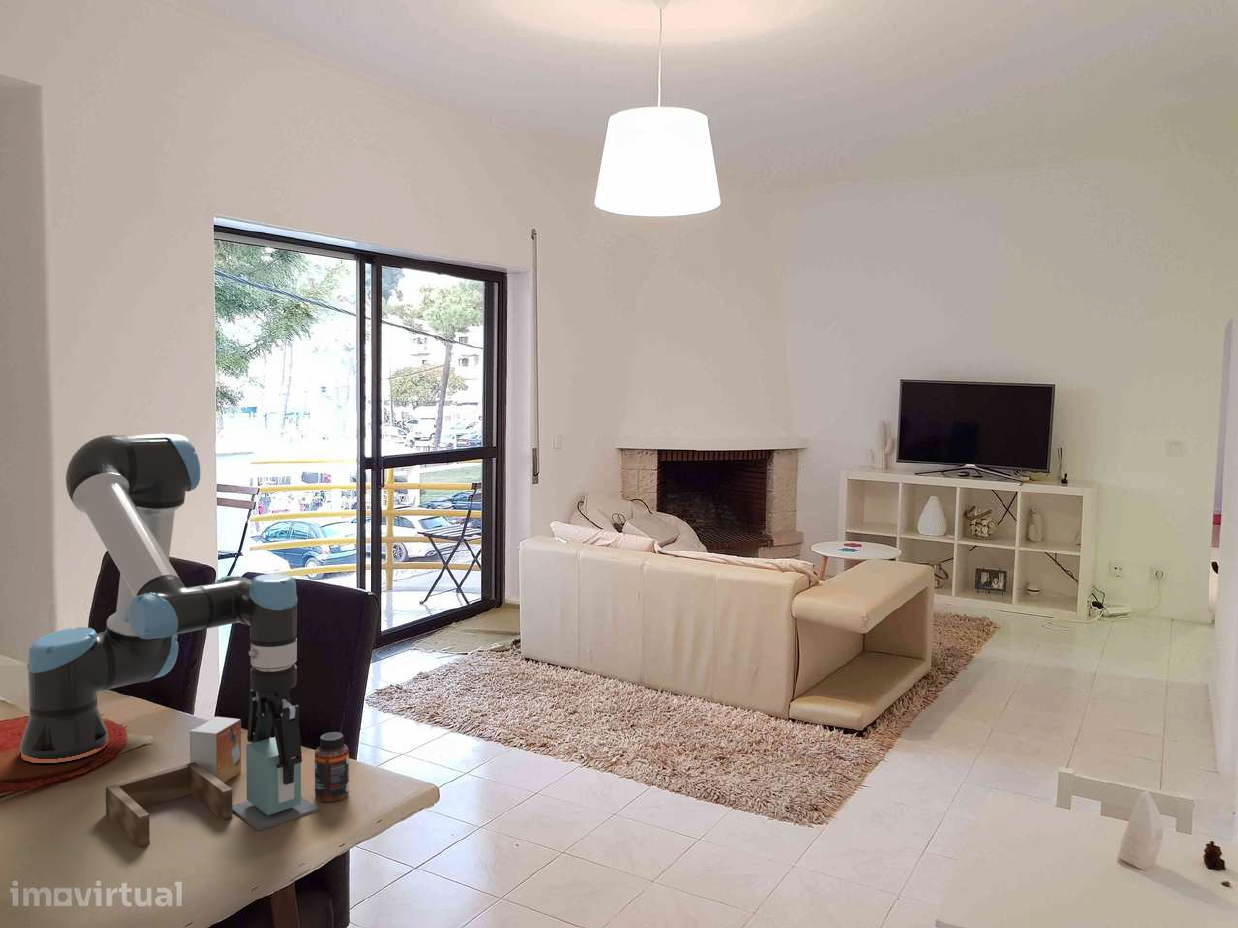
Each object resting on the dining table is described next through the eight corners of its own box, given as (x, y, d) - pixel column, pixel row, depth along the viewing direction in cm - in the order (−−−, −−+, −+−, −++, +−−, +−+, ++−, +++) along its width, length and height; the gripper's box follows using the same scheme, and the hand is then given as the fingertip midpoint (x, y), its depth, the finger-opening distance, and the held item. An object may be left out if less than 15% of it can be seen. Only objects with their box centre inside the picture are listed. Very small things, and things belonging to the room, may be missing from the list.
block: (279, 789, 168) (279, 735, 168) (300, 804, 163) (300, 748, 162) (246, 799, 164) (246, 744, 163) (267, 815, 159) (267, 758, 158)
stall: (106, 813, 160) (105, 785, 160) (195, 788, 171) (194, 761, 171) (139, 846, 150) (139, 816, 149) (232, 817, 160) (232, 789, 160)
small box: (216, 789, 171) (215, 733, 170) (189, 786, 172) (188, 730, 171) (242, 771, 179) (242, 718, 178) (216, 768, 180) (215, 715, 179)
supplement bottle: (356, 793, 171) (356, 733, 170) (333, 806, 166) (333, 744, 165) (330, 786, 174) (330, 727, 172) (307, 798, 168) (307, 738, 167)
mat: (229, 808, 163) (229, 806, 163) (288, 789, 171) (288, 787, 171) (258, 830, 156) (258, 828, 156) (318, 810, 164) (318, 807, 164)
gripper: (225, 655, 166) (226, 779, 168) (281, 684, 152) (281, 819, 154) (266, 647, 171) (266, 767, 173) (324, 674, 157) (323, 805, 159)
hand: (273, 791), depth 163 cm, fingers closed on block, 8 cm apart
